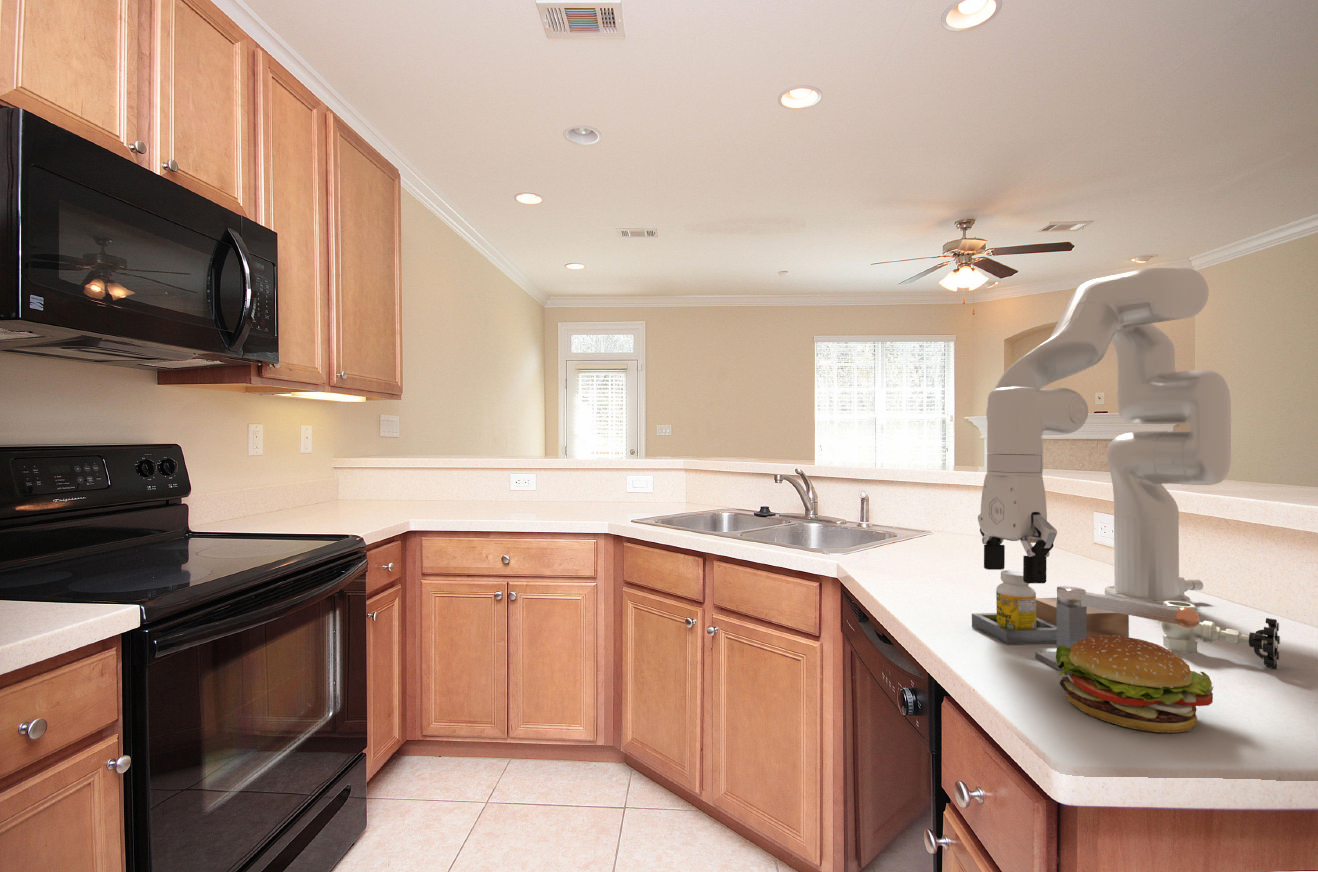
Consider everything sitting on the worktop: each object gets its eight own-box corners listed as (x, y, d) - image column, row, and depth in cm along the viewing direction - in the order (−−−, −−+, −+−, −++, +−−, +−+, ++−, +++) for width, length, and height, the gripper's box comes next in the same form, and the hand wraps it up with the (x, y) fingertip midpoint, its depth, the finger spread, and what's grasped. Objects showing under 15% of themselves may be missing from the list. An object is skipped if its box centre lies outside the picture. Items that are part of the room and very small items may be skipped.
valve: (1155, 650, 87) (1273, 675, 78) (1155, 604, 87) (1273, 624, 78) (1167, 640, 92) (1280, 663, 82) (1166, 597, 92) (1279, 615, 82)
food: (1252, 737, 62) (1252, 659, 62) (1127, 744, 61) (1126, 665, 61) (1135, 683, 76) (1134, 619, 76) (1030, 688, 75) (1030, 623, 75)
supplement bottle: (1044, 639, 92) (1043, 576, 92) (1010, 640, 92) (1009, 577, 92) (1021, 628, 97) (1021, 568, 97) (989, 629, 97) (988, 569, 97)
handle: (1203, 627, 72) (1203, 607, 72) (1195, 632, 70) (1195, 612, 70) (1062, 600, 84) (1062, 583, 84) (1053, 604, 82) (1052, 587, 82)
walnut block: (1083, 620, 101) (1083, 597, 101) (1128, 638, 92) (1128, 612, 92) (1032, 622, 100) (1032, 598, 100) (1072, 640, 91) (1072, 613, 92)
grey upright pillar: (1076, 656, 85) (1075, 598, 85) (1110, 673, 79) (1110, 610, 79) (1035, 657, 84) (1034, 599, 84) (1066, 674, 78) (1066, 611, 78)
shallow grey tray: (1024, 624, 99) (1024, 612, 99) (1064, 642, 90) (1064, 629, 90) (971, 625, 99) (971, 613, 99) (1006, 644, 90) (1006, 631, 90)
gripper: (960, 464, 103) (959, 564, 103) (1028, 468, 86) (1027, 589, 85) (1002, 464, 103) (1001, 564, 103) (1078, 468, 86) (1078, 589, 86)
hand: (1013, 575), depth 94 cm, fingers open, 9 cm apart
